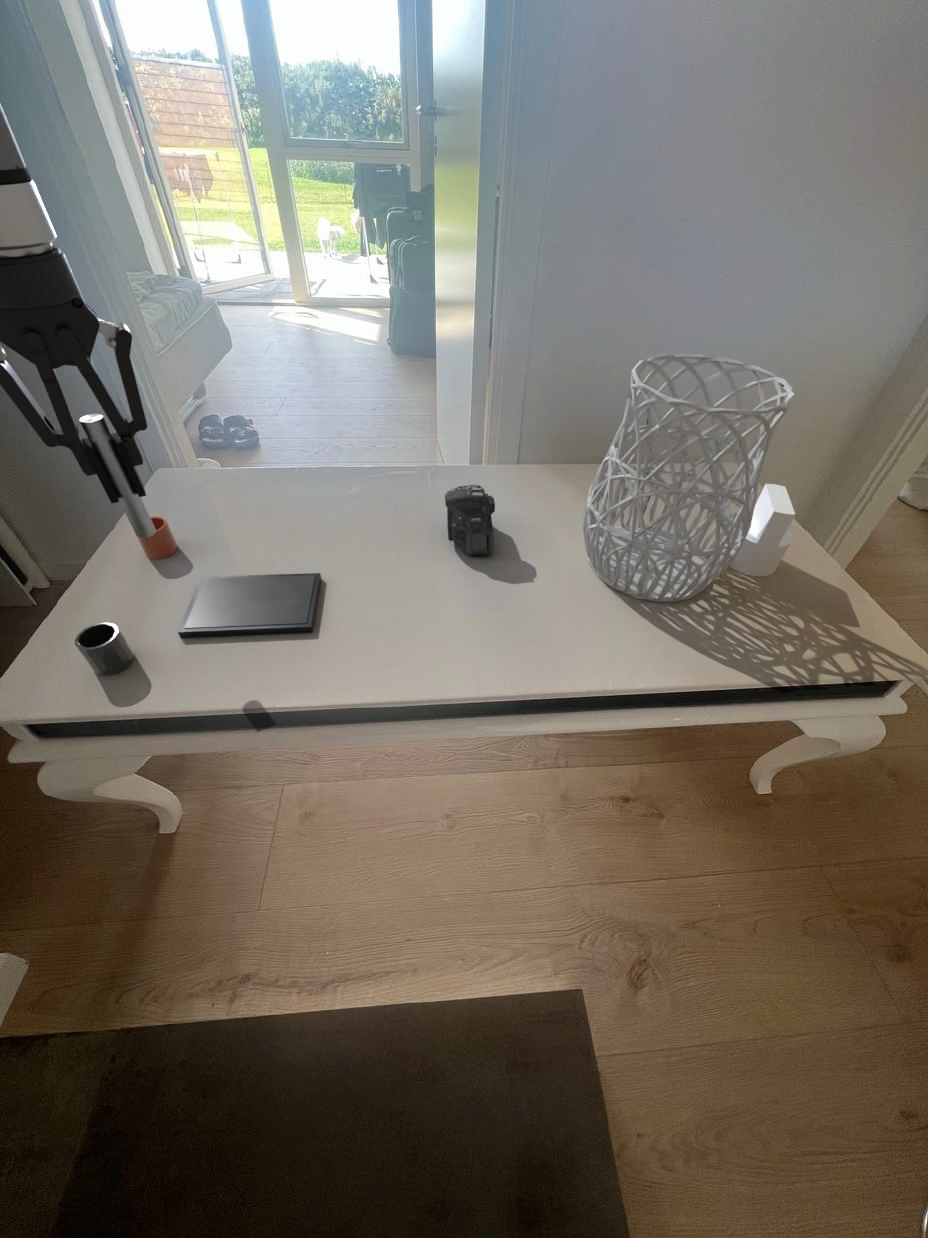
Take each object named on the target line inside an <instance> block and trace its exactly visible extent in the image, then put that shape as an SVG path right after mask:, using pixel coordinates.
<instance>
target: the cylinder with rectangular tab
mask: <svg viewBox="0 0 928 1238" xmlns="http://www.w3.org/2000/svg"><path fill="white" fill-rule="evenodd" d="M795 516H796V512H795V509H794V506H793V504H792V501H791V498H790V496H789V492H788V490H787V488H786V486H784V485H780V484H775V483H765V484H764V486H763V488H762V491H761V492H760V495H759V496H758V498H757V500H756V502H755V507H754V512H753V517H752V522H751V527H750V529H749V531H748V534H747V537H746V538H745V540H744V542H743V544H742V546H741V548H740V550H739V552H738V553H737V555H736V557H735V559H734V560H733V561H732V562H731V564H730V565H729V566H728V567H730V568H731V569H733V570H735V571H736V572H737V573H741V574H744V575H747V576H751V577H768V576H770V575H772V574H774V573H775V572H776V570H777V569H778V567H779V565H780V564H781V562H782V560H783V558H784V557H785V555H786V553H787V551H788V549H789V547H790V546H791V544H792V542H793V540H794V535H793V533H792V532H791V530H790V529H789V527H790V525H791V523H792V521H793V519H794V518H795ZM732 550H733V549H732Z"/></svg>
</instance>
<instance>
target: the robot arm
mask: <svg viewBox="0 0 928 1238" xmlns="http://www.w3.org/2000/svg"><path fill="white" fill-rule="evenodd" d="M57 237H58V235H57V233H56V231H55V229H54V226H53V224H52V222H51V219H50V217H49V214H48V212H47V210H46V207H45V205H44V203H43V200H42V198H41V195H40V193H39V191H38V187H37V185H36V183H35V181H34V180H33V179H32V176H31V173H30V171H29V169H28V167H27V165H26V163H25V160H24V157H23V155H22V153H21V150H20V148H19V145H18V142H17V140H16V138H15V135H14V133H13V131H12V128H11V125H10V122H9V121H8V118H7V116H6V114H5V110H4V108H3V106H2V103H1V102H0V386H1V388H2V389H3V390H4V391H5V393H6V394H7V396H8V397H9V398H10V400H11V401H12V402H13V404H14V405H15V406H16V408H17V409H18V410H19V412H20V413H21V414H22V415H23V417H24V419H25V420H26V421H27V422H28V423H29V425H30V426H31V428H32V429H33V430H34V432H35V433H36V435H38V437H39V439H40V440H41V441H42V442H43V443H44V445H45V446H47V447H49V448H55V447H56V448H57V447H64V448H67V449H69V450H70V451H71V453H72V455H73V456H74V458H75V460H76V462H77V464H78V466H79V467H80V469H81V471H82V473H83V474H84V475H85V476H87V477H89V476H95V475H96V476H97V478H98V480H99V482H100V484H101V486H102V488H103V490H104V491H105V493H106V495H107V498H108V499H109V502H110V504H115V503H116V504H117V503H120V501H119V499H118V496H117V494H116V492H115V490H114V488H113V486H112V484H111V482H110V480H109V478H108V476H107V474H106V472H105V470H104V468H103V466H102V464H101V462H100V460H99V458H98V456H97V454H96V452H95V450H94V448H93V446H92V444H91V443H90V441H89V439H88V437H86V438H82V437H81V431H80V429H79V427H78V424H77V422H76V419H75V416H74V414H73V411H72V408H71V406H70V403H69V401H68V397H67V395H66V393H65V390H64V387H63V384H62V381H61V378H60V376H59V373H58V371H57V370H58V369H59V368H61V367H63V366H71V367H76V368H77V369H78V372H79V373H80V374H81V376H82V377H83V378H84V381H85V382H86V383H87V385H88V387H89V389H90V390H91V392H92V394H93V395H94V397H95V398H96V400H97V402H98V403H99V406H100V407H101V408H102V411H103V412H104V413H105V415H106V417H107V419H108V421H109V422H110V424H111V426H112V427H113V429H114V431H115V432H111V434H112V436H113V441H114V444H115V446H116V449H117V451H118V453H119V455H120V457H121V459H122V461H123V464H124V466H125V468H126V470H127V472H128V474H129V476H130V478H131V481H132V483H133V485H134V487H135V489H136V491H137V493H138V496H139V497H141V498H142V497H147V494H146V489H145V485H144V483H143V481H142V479H141V476H140V474H139V472H138V470H137V466H142V465H144V458H143V456H142V453H141V450H140V448H139V446H138V443H137V441H136V439H135V435H136V434H137V433H138V432H140V431H141V432H143V431H146V430H147V428H148V422H147V418H146V415H145V411H144V406H143V403H142V399H141V394H140V391H139V390H140V389H139V388H138V383H137V379H136V375H135V372H134V367H133V364H132V360H131V351H132V342H133V335H132V333H131V330H130V328H129V326H128V325H127V324H125V323H124V322H117V323H113V322H111V321H108V320H105V319H102V318H99V317H98V315H97V314H96V312H95V311H94V310H93V309H92V308H91V307H90V306H89V305H88V303H87V302H86V301H85V299H84V296H83V294H82V292H81V290H80V287H79V284H78V282H77V280H76V278H75V275H74V274H73V271H72V268H71V266H70V263H69V261H68V259H67V257H66V254H65V252H64V251H63V250H61V249H60V248H59V247H58V246H56V245H54V244H53V242H56V239H57ZM99 333H100V334H101V335H103V338H104V341H105V343H106V345H107V346H108V347H110V348H112V349H113V352H114V357H115V360H116V363H117V367H118V371H119V375H120V380H121V382H122V386H123V391H124V393H125V398H126V401H127V404H128V405H127V406H128V408H129V411H130V416H128V417H125V416H124V414H123V412H122V410H121V409H120V407H119V404H118V403H117V402H116V400H115V398H114V396H113V395H112V393H111V391H110V389H109V387H108V386H107V384H106V382H105V381H104V380H105V379H103V377H102V375H101V374H100V372H99V370H98V369H97V366H96V363H94V360H93V359H92V354H93V351H94V346H95V344H96V339H97V337H98V334H99ZM2 344H3V345H5V346H6V347H8V348H9V349H11V350H12V351H13V352H15V353H16V354H18V355H19V356H21V357H23V358H24V359H25V360H26V361H28V362H29V363H31V364H33V365H35V366H36V370H37V373H38V375H39V377H40V379H41V381H42V383H43V386H44V389H45V391H46V394H47V396H48V398H49V401H50V404H51V406H52V409H53V411H54V414H55V416H56V419H57V421H58V424H59V427H60V428H56V427H55V425H54V424H53V423H52V422H51V420H50V419H49V417H48V416H47V414H46V413H45V412H44V410H43V409H42V408H41V406H40V405H39V403H38V401H36V399H35V398H34V396H33V395H32V393H31V392H30V390H29V389H28V388H27V387H26V385H25V384H24V383H23V381H22V379H21V378H20V377H19V375H18V374H17V372H16V371H15V370H14V369H13V367H12V366H11V364H10V363H9V361H7V352H6V351H5V349H4V348H3V347H2Z"/></svg>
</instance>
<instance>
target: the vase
mask: <svg viewBox="0 0 928 1238" xmlns="http://www.w3.org/2000/svg"><path fill="white" fill-rule="evenodd" d="M686 359H688V360H695V361H693V362H689V361H688V360H686ZM662 360H663V361H662ZM654 361H662V362H661V363H660V364H657V362H656V363H655V362H654ZM674 361H675V362H676V363H679V364H681V365H682V366H684V367H682V368H681V369H679V370H678V371H677V372H675V373H674V374H673V375H671V376H669V375H668V374H667V372H666V371H665V370H664V369H663V368H664V367H665V366H667V365H669V364H671V363H672V362H674ZM708 363H709V364H711V365H712V366H714V367H715V368H717V369H718V370H719V371H718V372H716V373H714V374H713V375H710V376H708V377H707V378H705V379H703V377H702V376H701V375H700V374H699V373H698V371H697V370H696V369H695V367H698V366H702V365H704V364H708ZM721 363H723V364H727V365H732V366H736V367H732V368H728V369H725V367H724V366H723V365H722V364H721ZM647 366H650V367H652V368H654V369H652V370H651V371H650V372H649V373H648V374H647V375H646V377H645V378H644V380H643V379H642V377H641V376H640V375H641V374H642V373H643V371H644V370H645V369H646V367H647ZM688 371H689V373H690V374H692V376H693V377H694V378H695V379H696V380H697V382H698V384H697V385H696V386H695V387H694V388H692V389H691V390H690V391H689V392H687V393H686V394H685V395H683V396H682V397H681V398H680V399H679V397H678V393H677V391H676V389H675V388H676V387H675V385H674V381H675V380H677V379H678V378H679V377H681V376H682V375H683V374H684V373H686V372H688ZM743 371H746V372H747V373H748V374H749V376H750V377H751V378H752V379H753V381H751V382H749V383H746V384H744V385H742V386H740V387H738V386H737V384H736V381H735V380H734V378H733V375H732V373H737V372H743ZM657 373H659V375H660V376H661V377H662V378H663V379H664V381H665V382H664V383H663V384H662V385H661V386H660V387H659V388H658V390H656V389H654V388H653V387H650V385H648V383H649V382H650V381H651V380H652V379H653V378H654V377H655V375H656V374H657ZM757 373H759V374H760V375H763V376H765V377H767V378H763V379H761V378H760V377H759V375H758V374H757ZM723 375H725V378H726V379H727V382H728V384H729V385H730V387H731V389H732V391H730V392H729V393H728V394H727V395H725V396H724V397H723V398H721V399H720V400H718V402H716V403H715V404H713V400H712V399H711V395H710V393H709V391H708V388H707V385H706V384H707V383H709V382H711V381H713V380H715V379H717V378H719V377H722V376H723ZM770 383H771V384H772V383H773V384H774V387H775V389H776V392H777V394H776V395H774V396H772V397H771V398H768V399H766V398H765V392H764V384H770ZM667 387H668V388H669V390H670V393H671V396H672V397H670V396H668V395H666V394H664V393H663V392H664V391H665V389H666V388H667ZM755 387H757V390H758V394H759V400H760V403H759V404H758V405H757V406H756V407H754V408H753V409H752V410H751V409H743V405H742V401H741V397H740V393H741V392H743V391H746V390H749V389H751V388H755ZM700 388H701V391H702V393H703V396H704V398H705V402H706V404H707V406H706V405H703V404H699V403H695V402H692V401H687V400H688V399H689V398H690V397H691V396H693V394H695V393H696V392H697V391H698V390H700ZM782 388H783V389H784V390H785V392H783V389H782ZM637 389H638V390H637ZM649 394H650V395H651V397H650V395H649ZM641 395H642V397H643V402H642V403H641V404H639V405H638V400H639V398H640V396H641ZM734 396H735V397H734ZM732 397H734V399H735V403H736V409H735V408H722V407H721V406H722V405H724V404H725V403H726V402H727V401H729V400H730V399H731V398H732ZM794 397H795V393H794V387H793V386H792V385H791V384H790V383H789V382H788V381H787V380H786V379H785V378H782V377H779V376H777V375H775V374H774V373H773V372H771V371H768V370H766V369H764V368H762V367H760V366H757V365H750V364H745V363H743V362H741V361H739V360H735V359H731V358H725V357H721V356H712V357H711V356H708V355H704V354H703V353H681V354H678V355H672V354H659V355H653V356H651V357H649V358H647V359H641V360H638V362H637V363H636V364H635V366H634V367H633V368H632V370H631V374H630V387H629V391H628V393H627V398H626V402H625V403H626V404H625V408H624V413H623V419H622V421H621V423H620V425H619V427H618V430H617V432H616V433H615V436H614V438H613V440H612V443H611V444H610V447H609V449H608V451H607V453H606V455H605V456H604V458H603V460H602V461H601V464H600V466H599V468H598V470H597V472H596V474H595V477H594V479H593V481H592V483H591V485H590V488H589V490H588V495H587V499H586V502H585V504H584V505H585V506H584V511H583V518H582V523H583V524H582V532H583V539H584V543H585V544H584V546H585V551H586V555H587V563H588V564H589V566H590V567H591V569H592V571H593V572H594V573H595V574H596V576H597V578H598V579H600V580H601V581H602V582H603V583H605V584H606V585H607V586H609V587H611V589H613V590H615V591H618V592H620V593H623V594H625V595H627V596H629V597H631V598H633V599H635V600H642V601H643V600H644V601H651V602H658V603H675V602H681V601H686V600H689V599H691V598H694V597H695V596H697V595H698V594H700V593H701V592H703V591H704V590H705V589H706V588H707V587H709V586H710V585H711V584H712V583H714V582H715V581H716V580H717V579H718V578H719V577H721V576H722V574H723V573H724V572H726V570H727V569H728V568H729V567H730V566H729V565H730V564H731V562H732V561H733V560H734V559H735V557H736V555H737V553H738V552H739V550H740V548H741V546H742V544H743V542H744V540H745V538H746V537H747V534H748V531H749V529H750V527H751V522H752V517H753V512H754V507H755V505H756V503H757V499H758V498H757V496H758V486H759V483H760V477H761V473H762V470H763V466H764V463H765V461H766V456H767V453H768V450H769V448H770V444H771V442H772V439H773V437H774V434H775V431H776V428H777V426H778V425H779V423H780V422H781V420H782V419H783V418H784V416H785V414H786V413H787V412H788V409H789V407H790V404H791V402H792V400H793V398H794ZM784 398H785V400H784ZM775 402H776V405H774V406H769V407H766V406H768V405H770V404H773V403H775ZM664 403H668V404H669V406H671V409H670V410H669V411H668V412H667V413H666V414H665V415H664V416H663V417H662V419H661V417H660V415H659V413H658V410H657V408H656V405H655V404H664ZM681 406H682V407H687V408H691V409H694V410H692V411H688V412H686V413H685V412H684V411H683V410H682V408H681ZM720 407H721V408H720ZM674 412H676V413H677V414H676V415H675V416H674V417H671V418H669V417H670V416H671V415H672V414H673V413H674ZM645 413H646V425H640V421H641V419H642V418H643V416H644V414H645ZM767 413H769V414H768V415H766V414H767ZM725 414H727V415H736V416H734V417H731V418H728V417H726V416H725ZM652 415H653V417H654V420H655V421H656V423H657V424H656V425H653V423H652V421H653V420H652ZM700 415H702V416H700ZM696 416H700V417H699V419H698V420H697V421H696V422H694V421H693V420H692V419H691V418H692V417H696ZM709 416H710V422H711V427H709V428H707V429H706V430H703V429H699V428H698V427H699V426H700V425H701V424H702V423H703V422H704V421H705V420H706V419H707V418H708V417H709ZM751 417H753V418H754V419H756V420H757V421H759V422H758V423H757V424H755V425H754V426H752V427H751V428H749V429H747V430H746V421H747V420H748V419H750V418H751ZM633 418H634V421H633V422H632V423H631V421H632V420H633ZM717 420H718V421H720V422H719V423H717ZM676 422H678V423H679V425H678V424H673V423H676ZM630 423H631V425H630V426H629V424H630ZM685 423H686V424H687V426H688V427H689V428H687V427H685ZM735 423H736V424H735ZM726 427H727V428H728V429H729V431H728V432H727V433H726V434H724V436H719V432H718V430H721V429H723V428H726ZM738 428H739V430H738ZM758 428H760V429H759V436H758V437H757V439H756V440H755V441H754V443H753V444H752V446H751V447H750V449H749V450H748V449H747V437H748V436H750V435H751V434H752V433H754V432H755V431H756V430H757V429H758ZM658 431H659V432H660V433H658V434H657V435H655V434H656V433H657V432H658ZM644 433H645V434H644ZM678 433H679V437H680V438H679V437H677V436H676V435H675V434H678ZM642 434H644V435H642ZM690 435H691V436H693V437H691V438H688V437H689V436H690ZM732 435H733V436H734V438H735V439H734V440H731V439H729V438H730V437H732ZM635 438H636V439H635ZM660 438H662V439H663V442H664V446H665V450H664V451H663V452H661V453H660V454H659V455H657V452H656V450H655V448H654V446H653V444H652V442H655V440H658V439H660ZM669 438H670V439H672V440H673V441H674V442H675V444H673V446H671V443H670V440H669ZM633 439H635V440H636V441H635V443H634V444H633V445H632V446H631V448H629V450H628V451H627V452H626V453H625V455H624V451H623V449H624V447H625V446H626V445H627V444H629V443H630V442H631V441H633ZM709 441H714V446H713V445H712V444H711V443H710V442H709ZM697 442H699V445H700V447H701V450H702V451H703V455H704V456H703V457H702V458H700V459H698V460H697V461H695V462H694V459H693V457H692V455H691V453H690V451H689V449H688V448H690V447H691V446H693V445H694V444H695V443H697ZM723 445H724V446H725V448H723V449H722V446H723ZM644 447H645V453H644V461H643V462H644V463H643V466H642V449H643V448H644ZM650 453H651V456H652V458H653V461H651V462H650V464H649V458H650ZM679 454H680V471H679V470H676V467H675V461H674V458H675V457H676V456H679ZM727 454H732V456H733V457H734V461H735V462H736V464H737V466H738V468H737V469H736V470H735V471H733V472H732V473H731V474H730V475H728V474H727V471H726V468H725V466H724V464H723V462H722V458H723V457H724V456H726V455H727ZM739 454H741V458H740V455H739ZM755 455H756V457H755ZM665 456H666V457H665ZM664 457H665V459H663V461H661V462H660V460H661V459H662V458H664ZM686 458H687V461H688V463H689V467H688V468H687V469H686ZM634 460H636V467H630V466H631V464H633V462H634ZM627 461H628V462H627ZM659 462H660V463H659ZM702 463H703V465H702V467H701V468H700V469H699V471H698V473H697V472H696V467H698V466H700V465H701V464H702ZM667 464H669V468H665V467H666V466H667ZM708 471H709V473H710V477H711V481H708V480H707V479H705V478H703V476H704V475H706V473H707V472H708ZM720 472H721V476H722V477H723V481H722V482H721V483H720V481H721V478H720ZM750 472H751V477H750ZM661 474H670V477H671V481H670V482H668V483H667V482H666V481H665V479H664V478H663V477H662V475H661ZM740 478H741V482H740V486H736V485H737V484H738V482H739V480H740ZM614 481H618V482H617V485H616V487H615V491H614V484H615V483H614ZM683 483H688V485H686V487H685V488H682V487H683ZM634 484H635V486H634ZM698 484H702V485H704V486H707V487H708V488H710V489H711V490H707V489H706V490H704V489H700V488H699V486H698ZM645 487H647V488H648V490H647V491H646V492H645ZM660 488H661V489H660ZM629 492H630V495H629V496H628V497H626V496H627V495H628V493H629ZM735 493H736V494H735ZM697 495H698V496H697ZM653 496H655V497H654V498H653V501H652V503H651V505H650V508H649V515H648V516H649V517H648V523H647V524H646V523H645V519H644V517H645V514H646V510H647V508H648V505H649V502H650V499H651V497H653ZM671 498H672V502H671ZM601 499H602V501H601ZM659 499H660V500H661V501H662V502H663V503H664V504H663V506H662V507H661V509H660V513H659V515H658V516H657V517H656V518H654V517H655V515H656V510H657V505H658V501H659ZM688 499H690V500H689V501H687V500H688ZM600 501H601V505H600ZM733 503H734V504H735V506H736V507H737V509H738V510H737V512H735V513H734V512H733V513H731V508H730V506H731V505H732V504H733ZM697 504H699V511H698V513H697V514H696V516H695V517H694V519H693V521H692V523H691V525H690V527H689V529H688V528H687V525H686V524H687V523H688V520H689V518H690V516H691V513H692V510H693V508H694V507H695V506H696V505H697ZM599 505H600V506H599ZM627 509H628V510H627ZM626 510H627V515H626V519H625V511H626ZM684 510H686V511H685V513H684V515H683V517H682V515H681V512H682V511H684ZM705 510H707V511H706V512H707V513H706V515H705V517H704V520H703V521H702V522H701V520H702V516H703V514H704V512H705ZM617 511H618V512H617ZM731 518H732V519H731ZM618 520H619V523H620V524H619V525H620V526H615V524H616V523H617V521H618ZM668 520H669V521H668ZM714 521H715V525H714V526H713V527H712V529H711V530H710V532H709V533H708V534H707V532H708V530H709V528H710V527H711V526H712V524H713V523H714ZM667 522H668V523H667ZM700 522H701V523H700ZM666 523H667V526H666V530H663V528H664V526H665V524H666ZM698 524H699V525H698ZM672 528H673V533H670V532H671V529H672ZM721 529H722V532H721ZM682 534H683V535H682ZM706 534H707V536H706ZM714 535H715V536H714ZM705 536H706V537H705ZM713 537H714V541H713V542H712V544H711V545H710V546H709V547H708V548H706V547H707V545H708V544H709V543H710V541H711V540H712V538H713ZM704 538H705V539H704ZM703 540H704V542H703ZM702 542H703V543H702ZM701 544H702V545H701ZM700 546H701V547H700ZM699 547H700V548H699ZM732 549H733V550H732ZM709 555H711V556H710V557H709V558H708V559H706V558H707V556H709Z"/></svg>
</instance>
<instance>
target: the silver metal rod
mask: <svg viewBox="0 0 928 1238" xmlns="http://www.w3.org/2000/svg"><path fill="white" fill-rule="evenodd" d="M78 421H79V423H80V425H81V427H82V429H83V431H84V433H85V436H86V438H88V439H89V441H90V443H91V444H92V446H93V448H94V450H95V452H96V454H97V456H98V458H99V460H100V462H101V464H102V466H103V468H104V470H105V472H106V474H107V476H108V478H109V480H110V482H111V484H112V486H113V488H114V490H115V492H116V494H117V496H118V499H119V503H120V505H121V507H122V509H123V511H124V513H125V515H126V517H127V519H128V521H129V523H130V525H131V527H132V529H133V532H134V531H135V532H134V533H136V534H135V536H136V535H137V536H138V537H139V538H149V537H151V536H153V535H154V534H155V533H156V529H155V527H154V525H153V522H152V520H151V518H150V517H151V516H150V514H149V512H148V510H147V507H146V506H145V503H144V501H143V499H142V497H139V496H138V493H137V491H136V489H135V487H134V485H133V483H132V481H131V478H130V476H129V474H128V472H127V470H126V468H125V466H124V464H123V461H122V459H121V457H120V455H119V453H118V451H117V449H116V446H115V444H114V441H113V436H112V432H111V430H110V428H109V426H108V423H107V422H106V419H105V417H104V415H103V414H101V413H90V414H86V415H83V416H81V417H80V418H79V420H78ZM137 536H136V537H137Z"/></svg>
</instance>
